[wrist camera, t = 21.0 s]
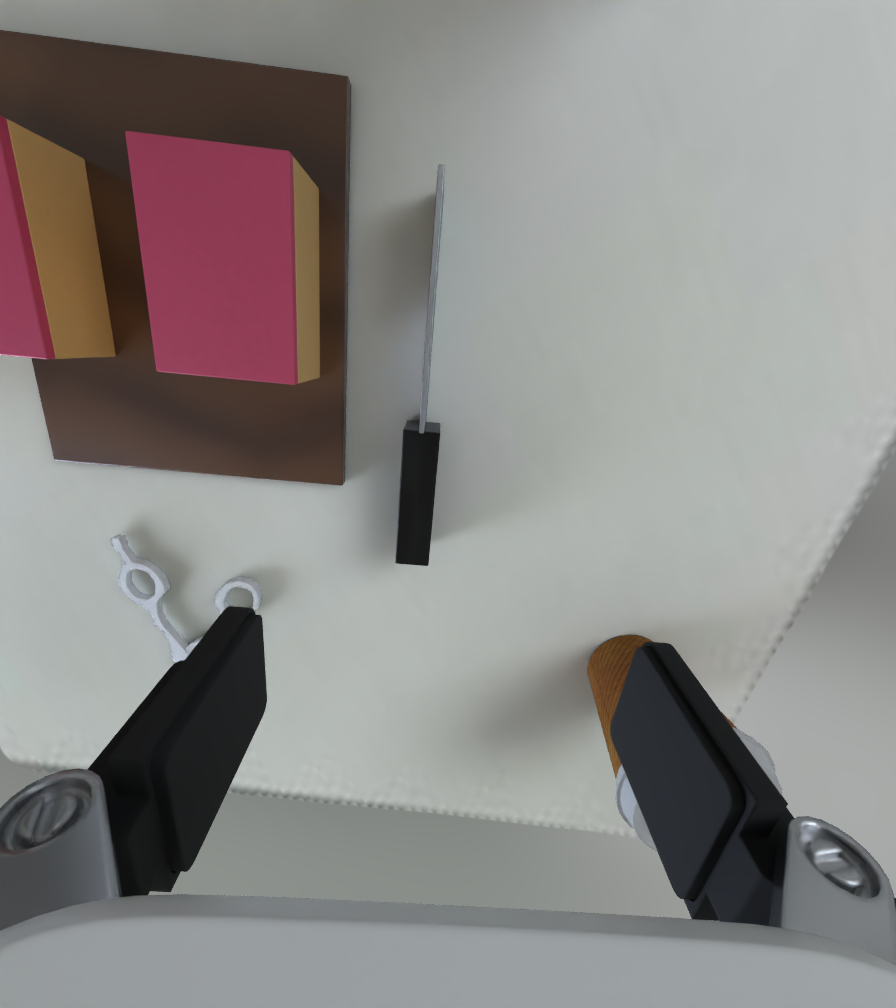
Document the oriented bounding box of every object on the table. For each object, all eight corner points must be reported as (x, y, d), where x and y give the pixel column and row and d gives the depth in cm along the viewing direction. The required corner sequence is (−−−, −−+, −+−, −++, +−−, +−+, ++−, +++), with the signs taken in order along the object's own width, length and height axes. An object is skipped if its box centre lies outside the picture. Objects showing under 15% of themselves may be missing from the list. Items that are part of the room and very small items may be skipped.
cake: (187, 172, 23) (124, 129, 19) (319, 188, 24) (289, 150, 19) (205, 366, 27) (155, 371, 22) (320, 377, 27) (294, 385, 22)
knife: (421, 189, 24) (418, 161, 21) (460, 194, 24) (464, 167, 21) (399, 541, 32) (394, 568, 28) (429, 544, 32) (427, 570, 28)
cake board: (-28, 34, 22) (-45, 23, 21) (351, 84, 23) (348, 75, 22) (63, 457, 29) (53, 460, 29) (345, 482, 30) (342, 485, 30)
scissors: (262, 568, 32) (238, 764, 38) (266, 563, 32) (242, 756, 39) (110, 537, 31) (112, 744, 37) (118, 532, 31) (118, 736, 38)
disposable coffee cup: (704, 660, 36) (823, 803, 25) (617, 725, 39) (690, 882, 27) (631, 596, 34) (726, 722, 23) (544, 669, 36) (590, 816, 25)
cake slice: (6, 149, 23) (-107, 99, 18) (84, 158, 23) (-7, 111, 18) (48, 349, 26) (-37, 351, 22) (116, 356, 26) (46, 359, 22)
